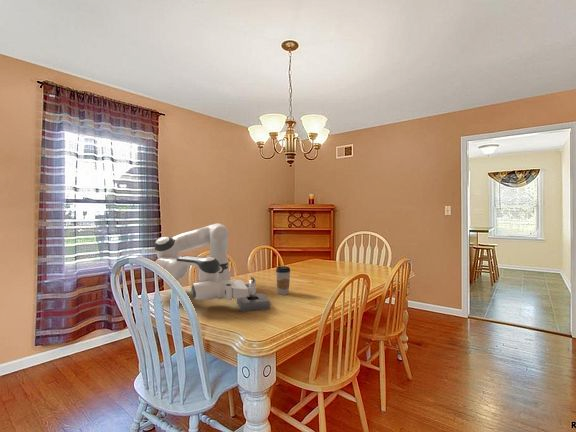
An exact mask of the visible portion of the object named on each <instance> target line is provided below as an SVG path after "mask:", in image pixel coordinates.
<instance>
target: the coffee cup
mask: <svg viewBox="0 0 576 432" xmlns="http://www.w3.org/2000/svg"><path fill="white" fill-rule="evenodd" d="M275 273H276V275H275V276H276V288H277V291H276V292H277V294H278V295H282V296H284V295H288V294H289V293H290V278H291V277H290V276H291V267H289V266H285V265H283V266H277V267H276V268H275Z"/></svg>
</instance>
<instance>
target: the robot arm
mask: <svg viewBox="0 0 576 432" xmlns="http://www.w3.org/2000/svg"><path fill="white" fill-rule="evenodd" d="M205 245H209V256H196V255H195V256H194V255H181V256H180V255H179V253H183V252H188V251H190V250H194V249H195V250H196V249H197V248H201V247H203V246H205ZM153 246H154V250H155V253H156V257H157V259H156V260H155V261H154V263H155V262H156V263H157V264H159V265H160V266H162V267H163V268H164V269H166V270H167V271H168V272H169V273H170V274H171V275H172V276H173V277H174V278H175V279H176V280H175V281H179V280H182V279H183V278H185V276H186V275H187V273H188V272H189V268H190V266H193V267H194V266H195V267H197V268H198V281H197V282H193V283H192V284H191V289H190V290H191V296H192V298H193V299H194V300H196V301H209V300H210V301H211V300H214V299H219V300H222V299H223V300H226V301H232V300H234V299H236V300H237V298H244V297H247V296H248V294H250V292H252V291H256V292H257V286H256V287H250V282H249V283H247V282H244V281H243V280H242V279H235V280H232V279H231V278H232V277H231V271H230V270H229V262H228V247H229V230H228V228H227V226H226V225H224V224H222V223H217V222H216V223H213V224H210V225H206V226H203V227H200V228H196V229H193V230H189V231H185V232H182V233H180V234H177V235H175V236H173V237H170V236H162V237H161V236H160V237H159V238H157V239H156V240H155V242H154V244H153Z"/></svg>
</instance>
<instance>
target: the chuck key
mask: <svg viewBox="0 0 576 432" xmlns="http://www.w3.org/2000/svg"><path fill="white" fill-rule="evenodd" d="M256 282H257V280H256V279H255V278H254V277H253V276H250V279H249V284H250V287H256V288H257V286H256V285H257V284H256ZM250 287H249V288H250ZM256 292H257V290H256V291H252V292H249V294H250V300H255V299H256V294H257V293H256Z"/></svg>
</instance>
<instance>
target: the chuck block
mask: <svg viewBox="0 0 576 432" xmlns="http://www.w3.org/2000/svg"><path fill="white" fill-rule="evenodd" d="M236 304H237V307H238V309H239V311H240V312H241V313H242V312H243V313H244V312H252V311H254V312H255V311H262V310H263V311H264V310H270V308H271V301H270V299H269V298H268V297H267V296H266V295H265V293H256V299H255V300H250V293H249V294H248V296H247V297H244V298H236Z"/></svg>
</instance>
